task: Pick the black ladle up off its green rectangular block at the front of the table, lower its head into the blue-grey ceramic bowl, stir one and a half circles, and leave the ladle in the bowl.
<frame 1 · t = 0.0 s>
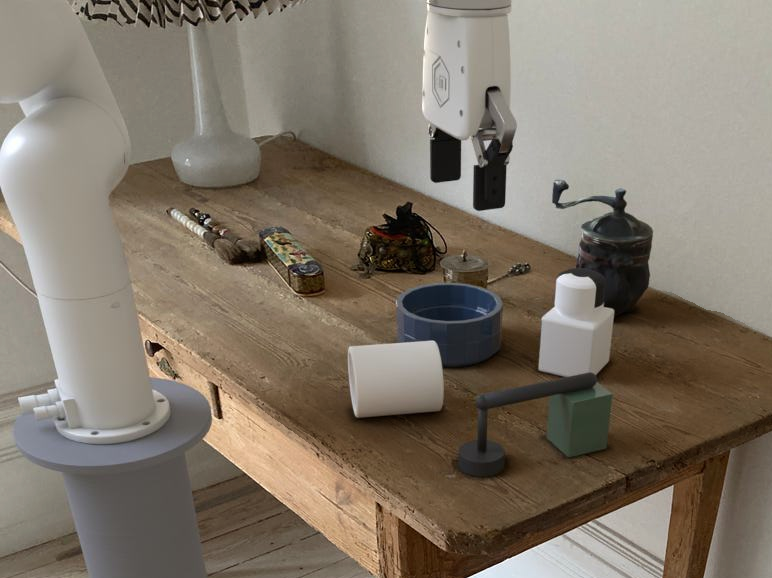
hand: (466, 194, 102), 26 cm above the table, tool pointing down, fingers open, 9 cm apart
mug: (393, 404, 123), on the table
bowl: (449, 346, 136), on the table
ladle: (481, 465, 112), on the table, touching green rectangular block
green rectangular block: (576, 443, 116), on the table
coffee grinder: (596, 314, 146), on the table
medicine bottle: (573, 368, 132), on the table
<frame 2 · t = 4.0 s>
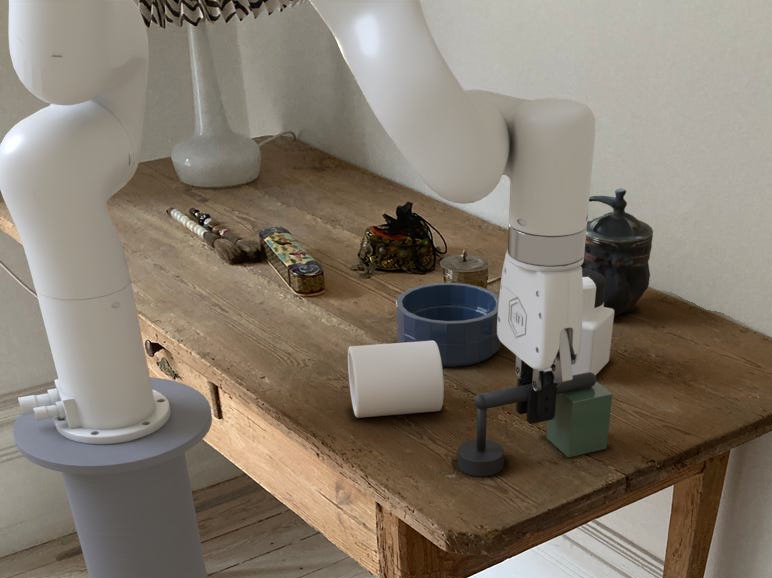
hand: (535, 414, 111), 5 cm above the table, tool pointing down, fingers closed on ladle
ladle: (480, 464, 112), on the table, touching gripper
everything else where it was.
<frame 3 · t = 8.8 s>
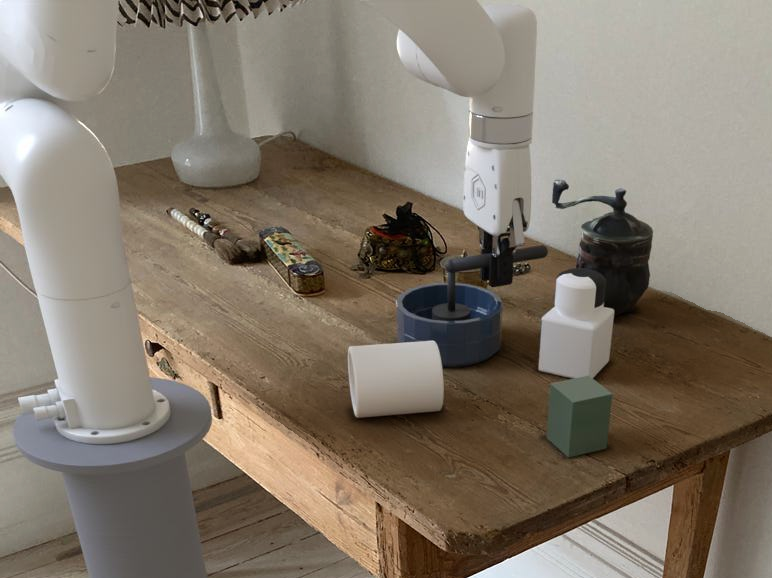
hand: (496, 281, 133), 8 cm above the table, tool pointing down, fingers closed on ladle
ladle: (451, 323, 134), point 3 cm above the table, touching gripper
everything else where it was.
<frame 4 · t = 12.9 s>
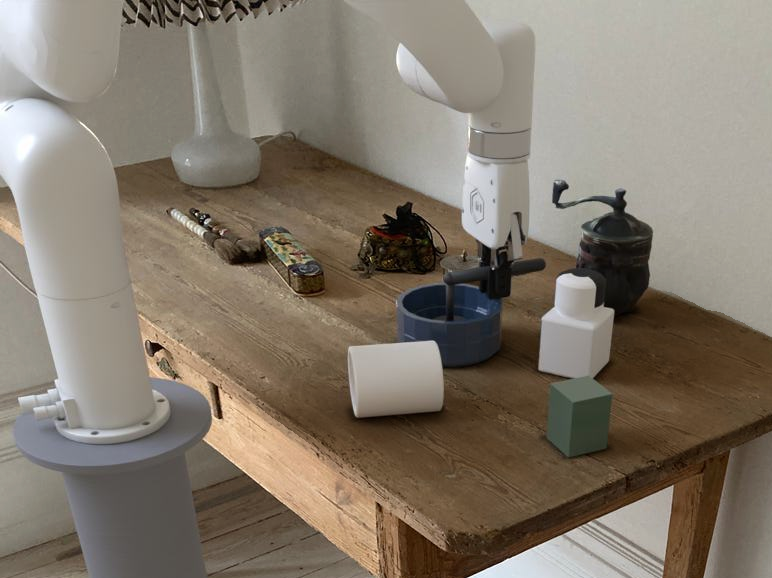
hand: (494, 293, 134), 6 cm above the table, tool pointing down, fingers closed on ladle
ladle: (450, 335, 135), point 1 cm above the table, touching gripper
everything else where it was.
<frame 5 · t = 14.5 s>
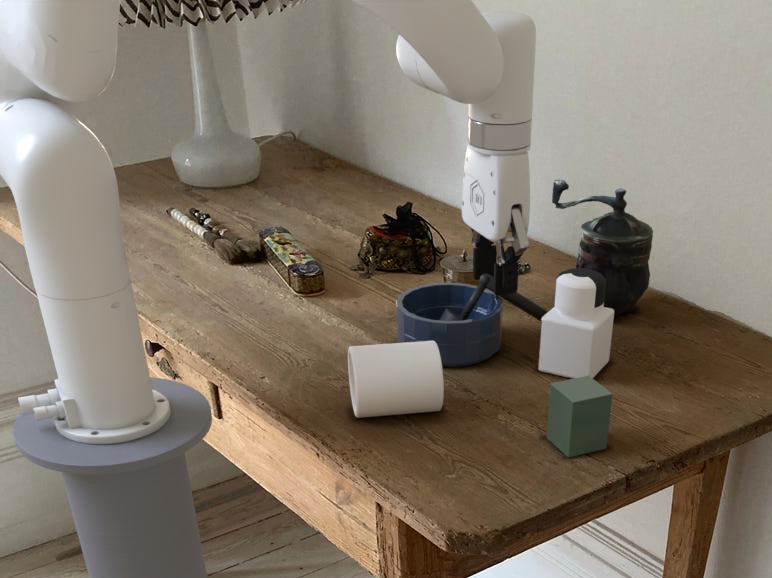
hand: (494, 284, 133), 7 cm above the table, tool pointing down, fingers open, 5 cm apart
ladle: (455, 331, 135), point 2 cm above the table, tilted 35°, touching bowl
everything else where it was.
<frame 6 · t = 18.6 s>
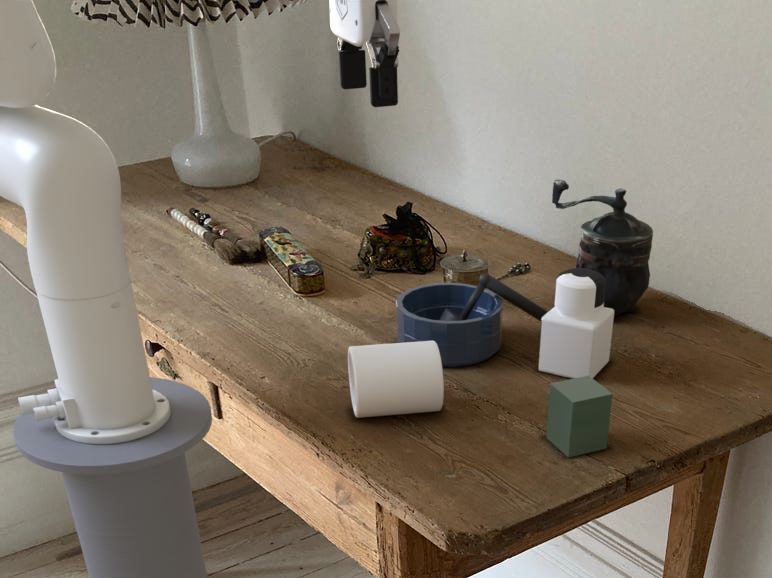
hand: (368, 96, 122), 28 cm above the table, tool pointing down, fingers open, 9 cm apart
nothing on the table moved.
at the end: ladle inside the target area in the bowl (0.8 cm from its centre), point 2.0 cm above the bowl's base; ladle moved 31.4 cm from its start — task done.
